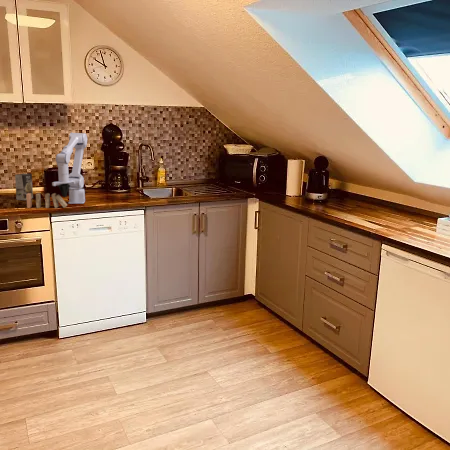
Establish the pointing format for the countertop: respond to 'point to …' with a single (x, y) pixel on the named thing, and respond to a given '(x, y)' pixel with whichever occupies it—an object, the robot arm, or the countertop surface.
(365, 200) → the countertop surface
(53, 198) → the domino
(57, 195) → the domino
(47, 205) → the domino
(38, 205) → the domino
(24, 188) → the coffee box
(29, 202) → the end domino
